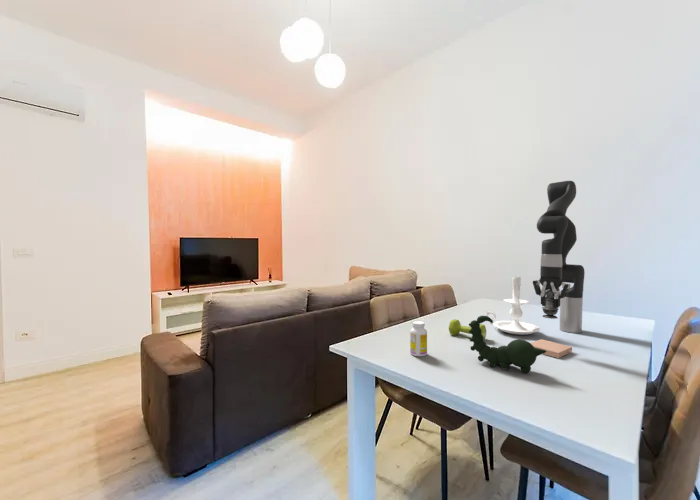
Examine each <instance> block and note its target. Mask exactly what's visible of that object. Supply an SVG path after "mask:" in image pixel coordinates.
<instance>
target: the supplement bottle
mask: <svg viewBox="0 0 700 500" xmlns="http://www.w3.org/2000/svg"><path fill="white" fill-rule="evenodd" d="M409 334H410V335H409V343H410V344H409V345H410V346H409V349H410V350H409V353H410V354H411V355H412V356H413V357H414V356H415V357H422V358H423V357H425V356H427V354H428V331H427V329H426V328H425V322H424V321H420V320H419V321H412V328H411V329H410V330H409Z"/></svg>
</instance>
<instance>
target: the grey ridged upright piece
mask: <svg viewBox="0 0 700 500" xmlns="http://www.w3.org/2000/svg"><path fill="white" fill-rule="evenodd" d="M555 299H556V298H555V295H554V293H553V290H548V291H547V292H546V305H545V306H542V307H541V309H542V312H543V315H542V318H544V319H545V318H546V319H552V320H554V319H558V318H559V317H558V316H556V314H558V312H559V311H560V308H554V302H555Z"/></svg>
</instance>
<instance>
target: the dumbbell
mask: <svg viewBox="0 0 700 500" xmlns="http://www.w3.org/2000/svg"><path fill="white" fill-rule="evenodd" d="M480 328H481V330H482V333H481V334H482V336H483V338H484V340H485V339H486V337H487V328H486V325H485V324H483V323H480ZM469 330H471V327H470V326H466V325H462V324H461V321H460V320H459V319H456V318H453V319H451V320H450V321H449V324H448V332H449V335H452V336H458V335H459V334H460V333H465V334H468V335H469V334H470V335H472V334H471V333H469Z"/></svg>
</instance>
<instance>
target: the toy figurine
mask: <svg viewBox="0 0 700 500" xmlns="http://www.w3.org/2000/svg"><path fill="white" fill-rule="evenodd" d="M492 319H493V318H491V317H489V315H488V316H487V315H479V316H477V318H476V319H474V320H471V321H470V322H469V323H468V327H471V330H469V333H471V334H470V335H471V337H470V338H469V342H471V343H473V345H471V346H470V350H471V351H476V352H478V355H479V356H478V357H477V360H478V361H479V362H482V361H484V360H486V361H487V362H488V366H489V367H491V368H494V367H495V366H497V365H500V367H501V368H502V369H504V370H508V369H509V368H510V366H511V365H513V366H514V367H517V368H520V371H521V372H522V373H524V374H528V373H530V372H531V370H532V366H533V365H534V364H535V363H536V360H537V358H538V356H541V355H544V354H543V353H546V350H542V349H538V348H535V347H534V346H533V345H532V344H531V343H532V342H530V341H527V340H525V339H519V338H518V339H514V340H511V341H510V342H509V343H508V344H507V345H499V346H498V347H495V346H489V345H487V343H486V341H484V340H485V339H484V338H483V336H482V334H481V333H482V330H481V328H480V324H483V323H485V322H488V323H490V322H491V323H494V321H493V320H492Z"/></svg>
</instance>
